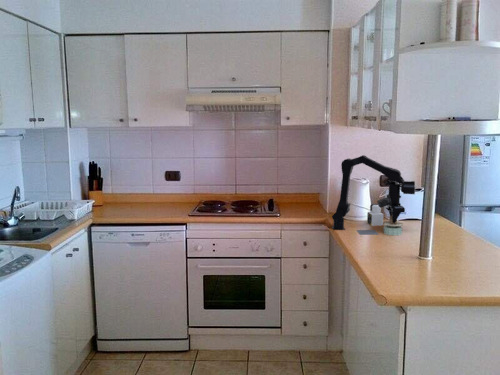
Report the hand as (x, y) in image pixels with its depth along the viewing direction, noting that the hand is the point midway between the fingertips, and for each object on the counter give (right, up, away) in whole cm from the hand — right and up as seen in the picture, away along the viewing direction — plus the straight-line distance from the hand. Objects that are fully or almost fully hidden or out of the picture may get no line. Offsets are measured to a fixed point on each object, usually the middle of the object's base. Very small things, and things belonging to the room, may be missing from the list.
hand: (393, 222), depth 233 cm
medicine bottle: (-3, -3, +22) cm, 22 cm away
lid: (0, -1, 0) cm, 1 cm away
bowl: (0, -6, +1) cm, 6 cm away
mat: (-13, -6, +3) cm, 15 cm away
